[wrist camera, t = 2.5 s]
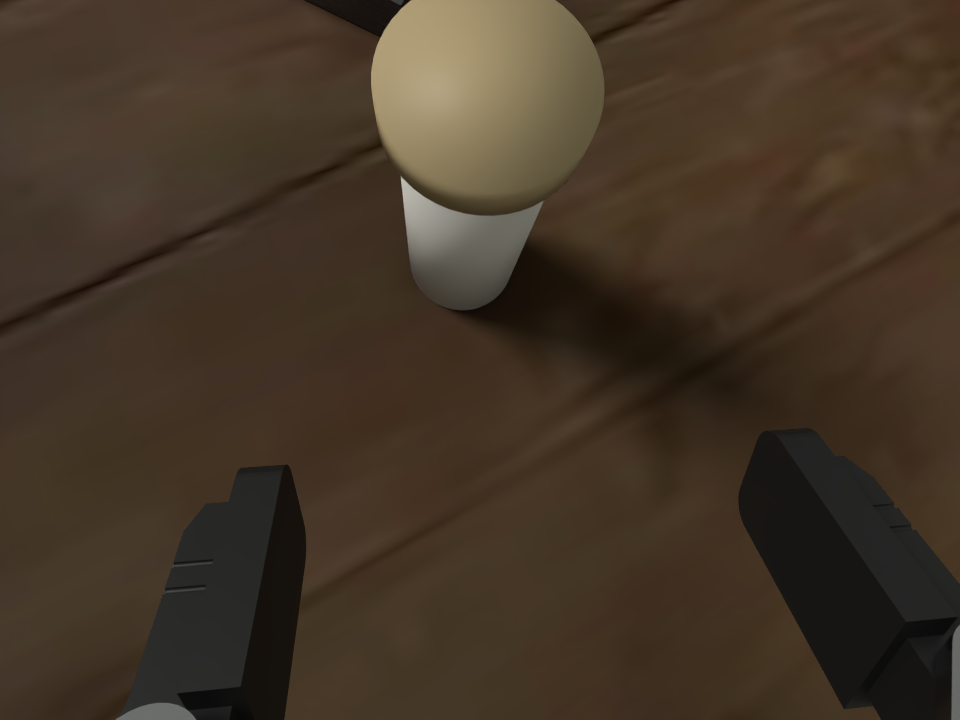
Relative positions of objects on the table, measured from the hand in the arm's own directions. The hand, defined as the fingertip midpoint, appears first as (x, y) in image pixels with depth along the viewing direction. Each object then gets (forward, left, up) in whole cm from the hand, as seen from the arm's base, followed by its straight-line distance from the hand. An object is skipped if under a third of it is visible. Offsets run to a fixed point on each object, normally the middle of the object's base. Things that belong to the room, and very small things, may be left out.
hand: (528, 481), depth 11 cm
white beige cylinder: (-4, +7, -13) cm, 15 cm away
